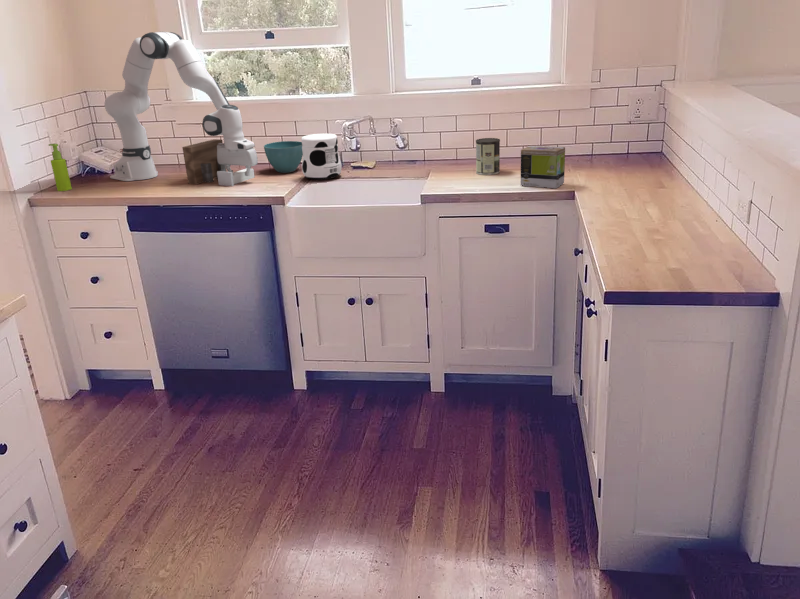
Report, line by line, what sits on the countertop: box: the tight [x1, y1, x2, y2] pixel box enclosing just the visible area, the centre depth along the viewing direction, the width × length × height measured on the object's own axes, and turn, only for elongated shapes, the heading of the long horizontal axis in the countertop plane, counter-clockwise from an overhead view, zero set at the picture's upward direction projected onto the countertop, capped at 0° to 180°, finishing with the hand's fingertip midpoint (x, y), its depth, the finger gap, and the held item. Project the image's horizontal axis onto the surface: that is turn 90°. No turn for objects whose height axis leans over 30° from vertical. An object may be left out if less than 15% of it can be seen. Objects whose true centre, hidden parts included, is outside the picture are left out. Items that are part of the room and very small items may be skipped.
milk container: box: [301, 133, 342, 181], centre depth 305 cm, size 17×17×18 cm
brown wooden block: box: [181, 138, 228, 185], centre depth 313 cm, size 8×20×16 cm, turn 152°
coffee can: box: [475, 137, 501, 176], centre depth 301 cm, size 10×10×14 cm
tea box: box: [520, 145, 566, 189], centre depth 275 cm, size 15×10×15 cm
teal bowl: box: [263, 140, 303, 174], centre depth 323 cm, size 18×18×12 cm
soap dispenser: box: [48, 143, 73, 192], centre depth 306 cm, size 6×7×20 cm
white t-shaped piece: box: [217, 167, 255, 187], centre depth 308 cm, size 17×8×6 cm, turn 152°
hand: (239, 175), depth 309 cm, fingers open, 8 cm apart
